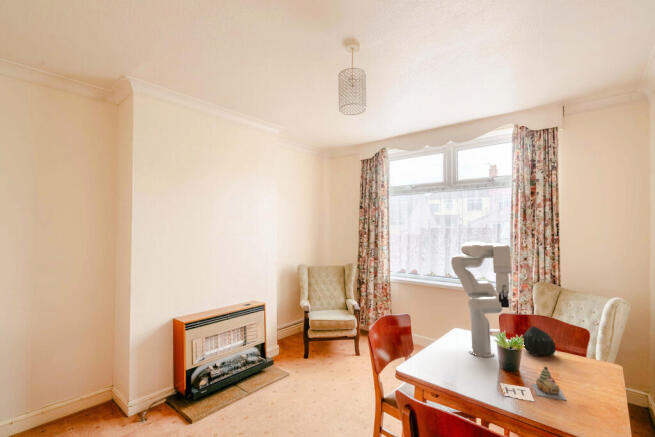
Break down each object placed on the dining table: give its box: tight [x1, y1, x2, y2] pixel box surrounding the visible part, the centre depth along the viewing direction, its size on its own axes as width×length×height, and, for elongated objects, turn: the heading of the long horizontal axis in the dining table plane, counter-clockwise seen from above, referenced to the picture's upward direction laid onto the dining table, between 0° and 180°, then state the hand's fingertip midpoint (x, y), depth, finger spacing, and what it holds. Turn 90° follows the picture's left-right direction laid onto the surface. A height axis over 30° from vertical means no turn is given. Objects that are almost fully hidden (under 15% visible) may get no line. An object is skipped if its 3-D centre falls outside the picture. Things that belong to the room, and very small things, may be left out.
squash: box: [522, 325, 556, 357], centre depth 167 cm, size 14×15×15 cm
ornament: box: [535, 365, 561, 394], centre depth 128 cm, size 8×6×10 cm
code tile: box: [500, 382, 535, 402], centre depth 129 cm, size 11×11×1 cm
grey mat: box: [531, 383, 568, 402], centre depth 128 cm, size 10×10×1 cm
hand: (503, 304), depth 146 cm, fingers open, 9 cm apart
